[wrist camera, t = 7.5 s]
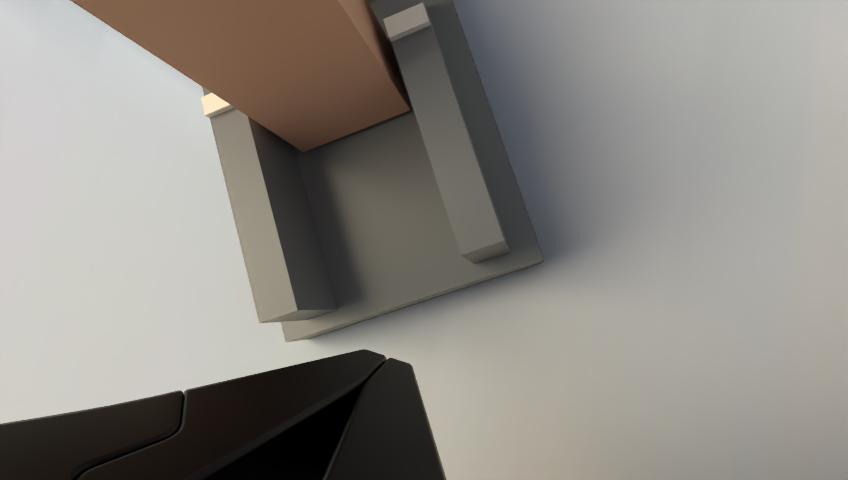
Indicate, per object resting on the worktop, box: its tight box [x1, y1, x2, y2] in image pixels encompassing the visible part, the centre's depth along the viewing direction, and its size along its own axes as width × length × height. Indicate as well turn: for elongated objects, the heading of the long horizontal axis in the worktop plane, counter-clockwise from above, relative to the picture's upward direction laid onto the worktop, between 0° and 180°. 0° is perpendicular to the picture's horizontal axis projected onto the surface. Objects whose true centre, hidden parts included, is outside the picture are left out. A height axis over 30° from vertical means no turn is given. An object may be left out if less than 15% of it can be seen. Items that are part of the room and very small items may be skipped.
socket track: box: [201, 0, 543, 342], centre depth 16 cm, size 12×9×6 cm
